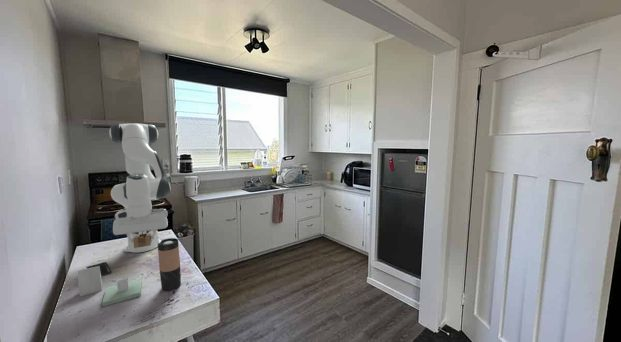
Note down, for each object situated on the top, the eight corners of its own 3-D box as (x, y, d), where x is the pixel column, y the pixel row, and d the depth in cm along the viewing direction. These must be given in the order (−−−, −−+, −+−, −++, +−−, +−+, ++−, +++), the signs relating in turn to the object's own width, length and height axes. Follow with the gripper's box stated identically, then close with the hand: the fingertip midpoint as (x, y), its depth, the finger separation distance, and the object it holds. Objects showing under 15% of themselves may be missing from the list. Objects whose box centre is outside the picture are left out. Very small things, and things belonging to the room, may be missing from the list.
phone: (106, 261, 128) (111, 271, 118) (106, 263, 128) (111, 274, 118) (85, 267, 122) (89, 278, 112) (86, 269, 122) (89, 280, 112)
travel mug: (184, 286, 106) (180, 241, 104) (163, 294, 101) (160, 246, 99) (178, 279, 112) (175, 236, 110) (158, 286, 107) (155, 241, 104)
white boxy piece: (101, 290, 104) (99, 267, 103) (79, 296, 100) (77, 273, 99) (102, 286, 107) (99, 264, 106) (81, 292, 103) (78, 269, 102)
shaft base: (107, 290, 104) (105, 277, 103) (141, 281, 110) (140, 269, 109) (102, 306, 94) (100, 291, 93) (140, 295, 100) (139, 281, 99)
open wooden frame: (136, 243, 114) (135, 233, 113) (151, 240, 116) (151, 231, 116) (134, 248, 108) (133, 238, 108) (150, 245, 111) (149, 235, 111)
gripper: (167, 206, 118) (169, 234, 120) (113, 211, 109) (117, 242, 111) (166, 209, 112) (168, 238, 114) (110, 215, 103) (113, 247, 105)
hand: (142, 240), depth 112 cm, fingers closed on open wooden frame, 6 cm apart
